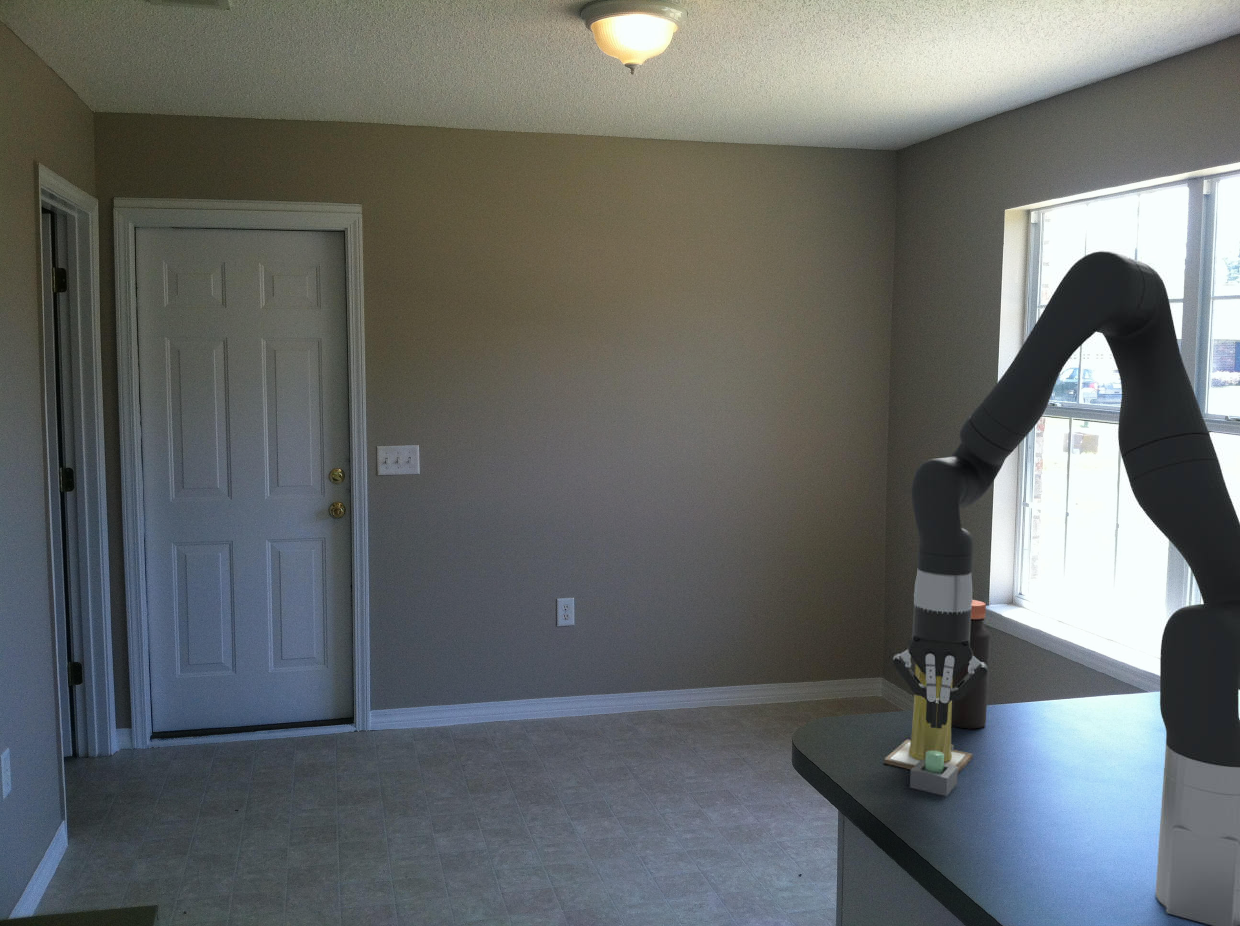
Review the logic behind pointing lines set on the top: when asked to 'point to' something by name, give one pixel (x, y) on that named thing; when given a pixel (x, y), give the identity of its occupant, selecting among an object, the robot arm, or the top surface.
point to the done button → (934, 762)
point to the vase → (929, 726)
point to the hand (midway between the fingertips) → (936, 726)
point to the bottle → (975, 701)
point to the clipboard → (905, 760)
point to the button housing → (933, 779)
